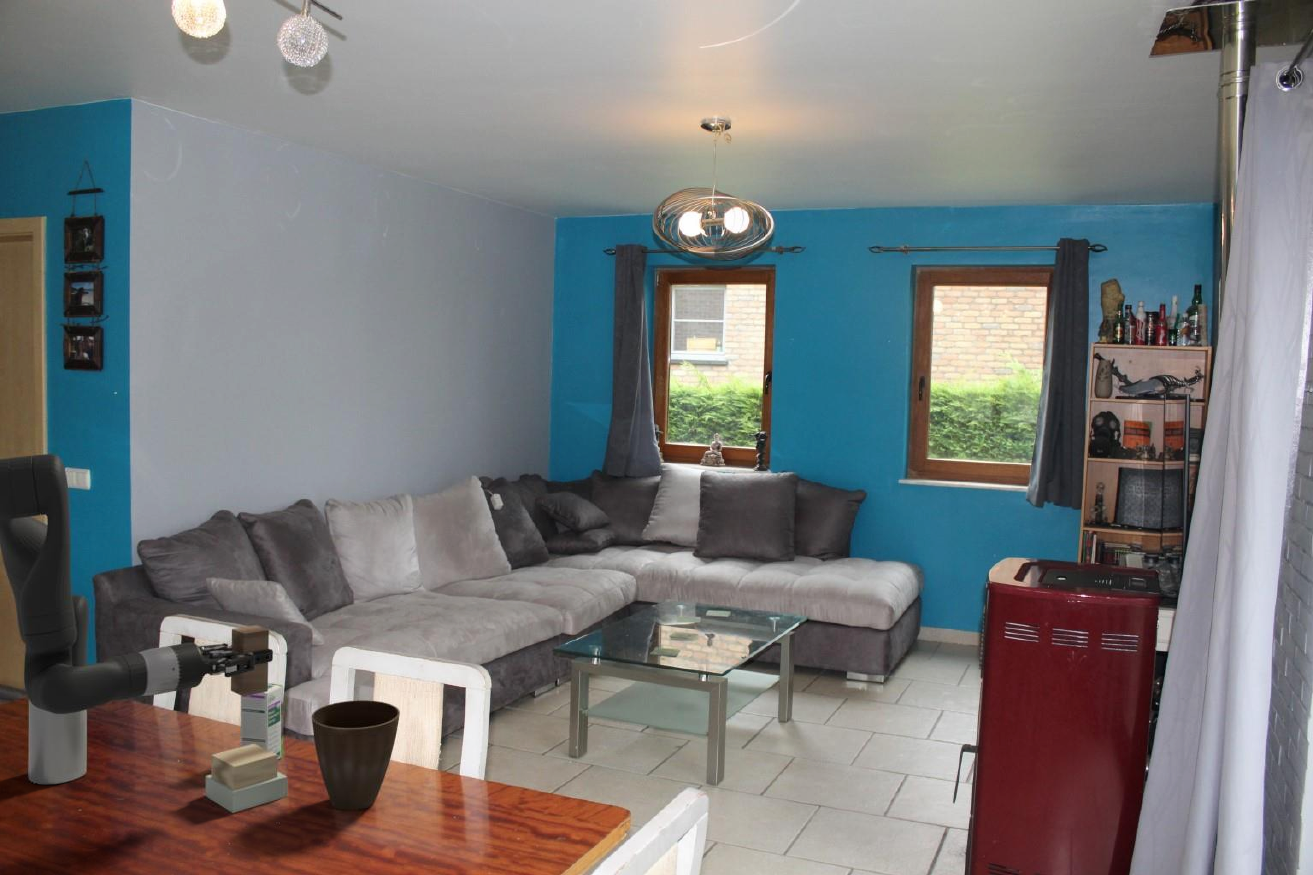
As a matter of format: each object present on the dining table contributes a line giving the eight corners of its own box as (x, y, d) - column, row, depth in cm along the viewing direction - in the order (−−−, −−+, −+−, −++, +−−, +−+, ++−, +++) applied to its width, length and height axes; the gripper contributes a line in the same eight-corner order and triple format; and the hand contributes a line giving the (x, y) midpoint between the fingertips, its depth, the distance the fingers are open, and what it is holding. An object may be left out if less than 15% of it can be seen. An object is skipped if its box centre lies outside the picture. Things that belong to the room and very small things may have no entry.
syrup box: (267, 767, 197) (268, 692, 196) (239, 764, 198) (240, 689, 197) (283, 757, 202) (284, 684, 201) (256, 753, 203) (257, 681, 203)
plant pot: (415, 795, 186) (417, 708, 185) (358, 827, 173) (360, 733, 172) (350, 779, 192) (352, 695, 191) (291, 808, 179) (292, 718, 178)
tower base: (205, 797, 183) (205, 775, 183) (259, 782, 191) (259, 761, 190) (232, 815, 176) (233, 792, 176) (287, 798, 184) (287, 776, 184)
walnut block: (230, 690, 182) (231, 628, 181) (255, 685, 185) (256, 625, 185) (243, 696, 179) (244, 633, 178) (267, 691, 182) (268, 629, 182)
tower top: (211, 776, 182) (211, 754, 182) (253, 764, 189) (254, 743, 188) (234, 789, 177) (234, 766, 177) (277, 776, 183) (277, 754, 183)
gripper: (186, 655, 166) (285, 638, 179) (149, 638, 176) (245, 623, 188) (186, 701, 167) (284, 681, 179) (148, 682, 176) (244, 664, 189)
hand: (264, 651), depth 184 cm, fingers closed on walnut block, 4 cm apart
